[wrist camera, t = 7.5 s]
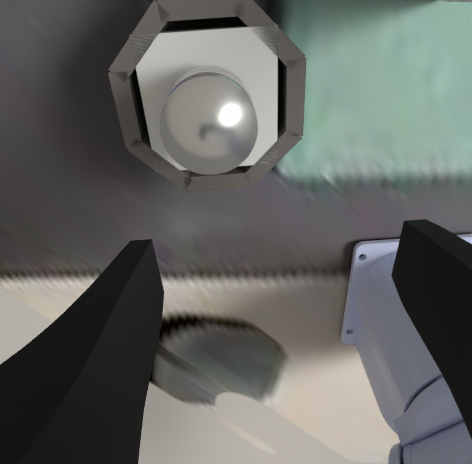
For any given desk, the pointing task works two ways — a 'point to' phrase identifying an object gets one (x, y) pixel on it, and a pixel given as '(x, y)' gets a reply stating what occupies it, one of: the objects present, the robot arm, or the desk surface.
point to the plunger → (209, 121)
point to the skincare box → (458, 0)
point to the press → (209, 54)
